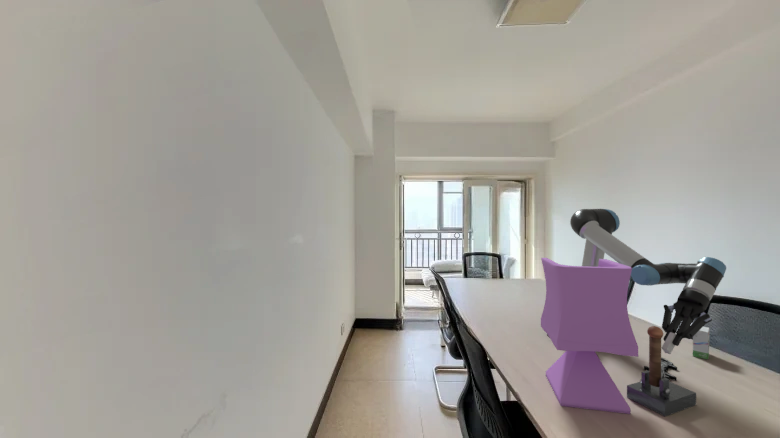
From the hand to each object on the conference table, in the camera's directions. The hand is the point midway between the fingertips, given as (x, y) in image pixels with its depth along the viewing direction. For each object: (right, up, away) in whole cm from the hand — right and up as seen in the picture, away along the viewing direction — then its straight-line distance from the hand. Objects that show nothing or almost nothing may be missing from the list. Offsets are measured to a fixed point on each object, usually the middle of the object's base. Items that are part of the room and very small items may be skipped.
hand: (665, 351), depth 105 cm
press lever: (-5, -11, -2) cm, 12 cm away
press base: (-2, -16, 0) cm, 16 cm away
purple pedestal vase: (-24, -17, +5) cm, 30 cm away
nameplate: (+14, -17, +19) cm, 29 cm away
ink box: (+44, -16, +33) cm, 58 cm away
